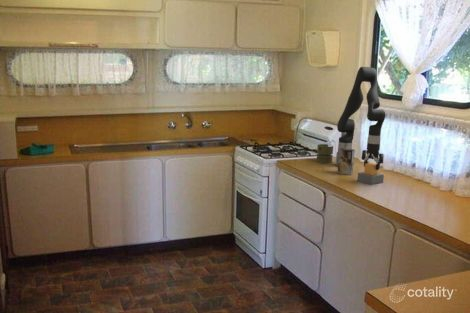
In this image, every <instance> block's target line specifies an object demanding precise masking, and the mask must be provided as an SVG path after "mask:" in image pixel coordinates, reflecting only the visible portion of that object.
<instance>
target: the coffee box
mask: <svg viewBox="0 0 470 313" xmlns="http://www.w3.org/2000/svg"><path fill="white" fill-rule="evenodd" d="M354 161H355V149H354V148H352V149H345V148H341V149H339V159H338V166H337V174H341V175H348V176H351V175H353V174H354V165H355V164H354V163H355V162H354Z"/></svg>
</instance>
